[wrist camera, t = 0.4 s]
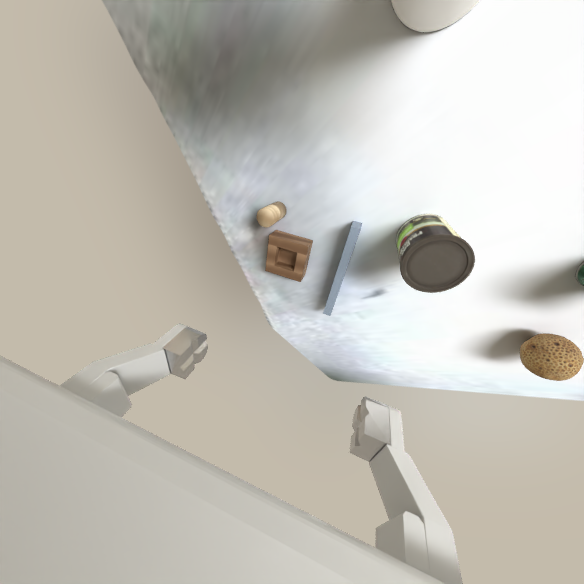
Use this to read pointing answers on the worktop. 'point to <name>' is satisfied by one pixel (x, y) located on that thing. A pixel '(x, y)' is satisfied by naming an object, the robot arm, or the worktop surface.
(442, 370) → the worktop surface
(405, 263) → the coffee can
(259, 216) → the dowel
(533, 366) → the natural sponge
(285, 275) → the block
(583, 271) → the canned tomato
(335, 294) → the wall
